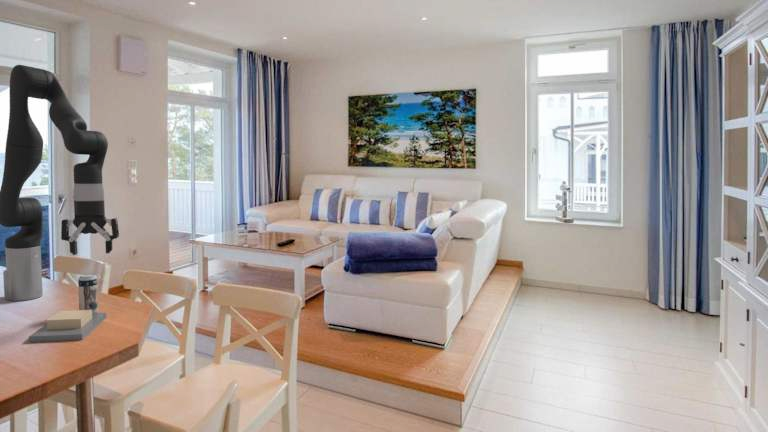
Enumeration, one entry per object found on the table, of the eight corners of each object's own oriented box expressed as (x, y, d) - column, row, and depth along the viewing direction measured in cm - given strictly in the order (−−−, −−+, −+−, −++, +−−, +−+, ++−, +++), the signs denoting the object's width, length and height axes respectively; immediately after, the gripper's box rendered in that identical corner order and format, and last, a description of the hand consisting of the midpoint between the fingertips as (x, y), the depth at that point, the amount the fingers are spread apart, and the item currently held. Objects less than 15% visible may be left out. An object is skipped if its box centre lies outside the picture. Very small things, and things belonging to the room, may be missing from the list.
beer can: (89, 317, 137) (87, 277, 135) (75, 315, 138) (74, 276, 136) (101, 312, 141) (100, 274, 140) (88, 310, 142) (87, 272, 141)
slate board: (29, 342, 117) (28, 327, 116) (60, 319, 134) (60, 305, 134) (82, 339, 120) (81, 324, 119) (106, 317, 137) (105, 304, 137)
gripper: (119, 198, 140) (121, 250, 142) (65, 198, 136) (67, 252, 137) (113, 199, 133) (116, 254, 135) (56, 200, 129) (59, 257, 130)
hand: (91, 253), depth 136 cm, fingers open, 8 cm apart
